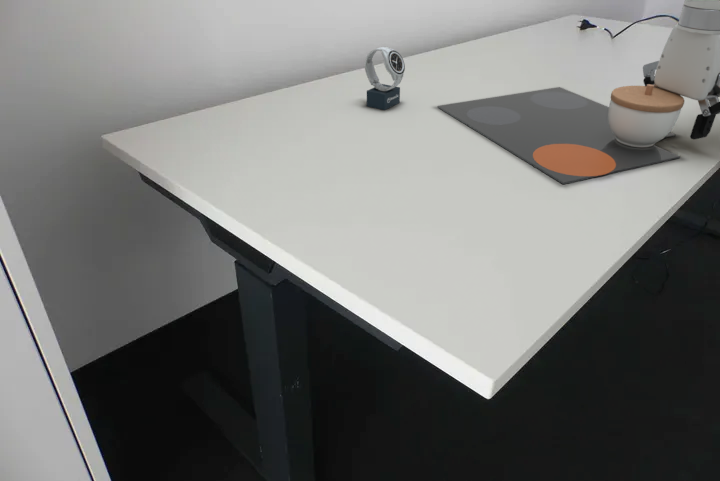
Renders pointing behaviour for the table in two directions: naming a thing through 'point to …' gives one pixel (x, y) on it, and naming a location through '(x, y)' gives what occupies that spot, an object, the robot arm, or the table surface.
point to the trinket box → (643, 114)
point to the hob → (552, 128)
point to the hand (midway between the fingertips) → (673, 127)
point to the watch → (382, 93)
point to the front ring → (574, 160)
